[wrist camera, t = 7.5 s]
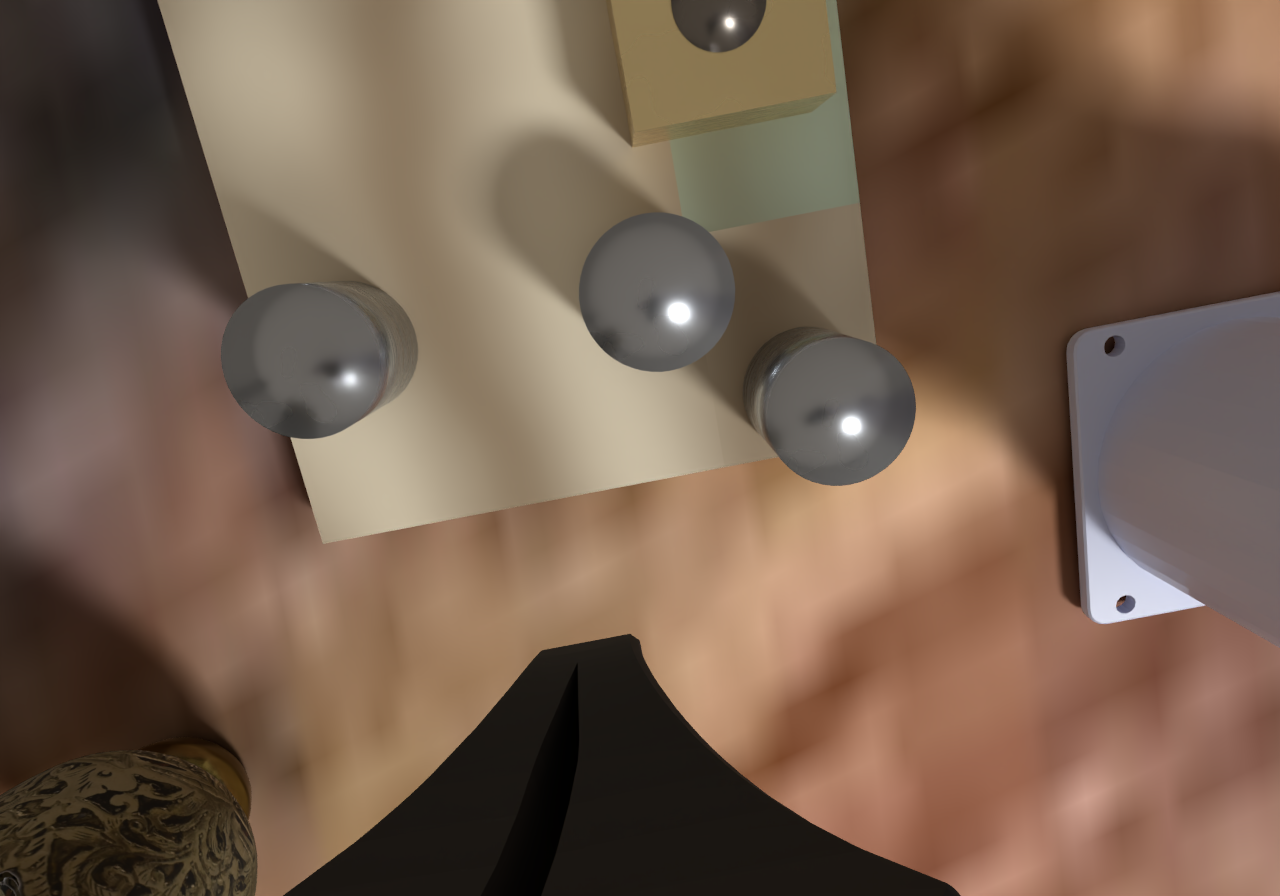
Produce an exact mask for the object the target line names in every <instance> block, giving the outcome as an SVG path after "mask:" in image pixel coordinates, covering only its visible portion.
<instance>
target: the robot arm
mask: <svg viewBox="0 0 1280 896" xmlns="http://www.w3.org/2000/svg"><path fill="white" fill-rule="evenodd" d="M1112 336H1113V337H1114V340H1115V346H1114V349H1113V350H1112V351H1111V352H1110V353H1108V354H1106V353H1105V350H1104V345H1105V342H1106V341H1107V339H1108V338H1109V337H1112ZM1066 354H1067V372H1068V389H1069V406H1070V423H1071V441H1072V458H1073V475H1074V493H1075V510H1076V527H1077V544H1078V562H1079V579H1080V596H1081V607H1082V611H1083V613H1084V614H1085V615H1086V616H1087V617H1088V618H1090V619H1091V620H1092V621H1094V622H1096V623H1099V624H1109V623H1114V622H1120V621H1125V620H1130V619H1136V618H1141V617H1147V616H1152V615H1157V614H1163V613H1168V612H1173V611H1179V610H1184V609H1189V608H1195V607H1200V606H1205V605H1206V606H1208V607H1210V608H1211V609H1213V610H1215V611H1217V612H1218V613H1220V614H1222V615H1224V616H1225V617H1227V618H1229V619H1231V620H1232V621H1234V622H1236V623H1238V624H1239V625H1241V626H1243V627H1244V628H1246V629H1248V630H1250V631H1251V632H1253V633H1255V634H1257V635H1258V636H1260V637H1262V638H1264V639H1265V640H1267V641H1269V642H1271V643H1272V644H1274V645H1276V646H1278V647H1279V648H1280V291H1279V292H1273V293H1268V294H1263V295H1258V296H1253V297H1247V298H1242V299H1237V300H1232V301H1227V302H1221V303H1216V304H1211V305H1206V306H1201V307H1195V308H1190V309H1185V310H1180V311H1175V312H1169V313H1164V314H1159V315H1154V316H1148V317H1143V318H1138V319H1133V320H1128V321H1122V322H1117V323H1112V324H1107V325H1102V326H1096V327H1091V328H1086V329H1083V330H1080V331H1078V332H1077V333H1076V334H1074V335H1073V336H1072V337H1071V339H1070V341H1069V342H1068V344H1067V351H1066ZM1125 595H1126V599H1125V602H1124V603H1123V604H1122V605H1120V606H1118V607H1116V603H1117V601H1118V600H1119V598H1120V597H1122V596H1125ZM283 896H960V894H959V893H958V892H957V891H956V890H955V889H954V888H953V887H952V886H950V885H949V884H947V883H945V882H942V881H940V880H937V879H935V878H932V877H930V876H927V875H925V874H922V873H920V872H917V871H915V870H912V869H910V868H907V867H905V866H903V865H900V864H898V863H895V862H893V861H890V860H888V859H885V858H883V857H880V856H878V855H875V854H873V853H870V852H868V851H865V850H863V849H861V848H859V847H856V846H854V845H852V844H850V843H848V842H846V841H844V840H843V839H841V838H839V837H837V836H835V835H833V834H831V833H829V832H827V831H825V830H823V829H821V828H819V827H817V826H816V825H814V824H812V823H810V822H809V821H807V820H806V819H804V818H802V817H801V816H799V815H798V814H796V813H795V812H793V811H792V810H790V809H788V808H787V807H785V806H784V805H782V804H781V803H779V802H777V801H776V800H774V799H773V798H771V797H770V796H768V795H767V794H766V793H764V792H763V791H762V790H761V789H759V788H758V787H757V786H755V785H754V784H753V783H752V782H750V781H749V780H748V779H747V778H745V777H744V776H743V775H741V774H740V773H739V772H738V771H737V770H736V769H734V768H733V767H732V766H731V765H730V764H729V763H728V762H726V761H725V760H724V759H723V758H722V757H721V756H720V755H719V754H718V753H717V752H716V751H715V750H714V749H712V748H711V747H710V746H709V745H708V743H707V742H706V741H705V740H704V739H703V738H702V737H701V736H700V735H699V734H698V733H697V732H696V731H695V730H694V729H693V727H692V726H691V725H690V724H689V723H688V722H687V721H686V720H685V718H684V717H683V716H682V715H681V714H680V712H679V711H678V710H677V709H676V707H675V706H674V705H673V703H672V702H671V701H670V699H669V698H668V697H667V695H666V694H665V692H664V691H663V690H662V688H661V687H660V686H659V684H658V683H657V681H656V679H655V678H654V676H653V675H652V673H651V671H650V669H649V667H648V666H647V664H646V662H645V660H644V658H643V655H642V650H641V645H640V641H639V640H638V639H637V638H635V637H634V636H632V635H631V634H627V635H622V636H616V637H611V638H606V639H600V640H595V641H590V642H584V643H579V644H574V645H568V646H563V647H558V648H552V649H547V650H542V651H541V652H540V653H539V654H538V655H537V656H536V657H535V658H534V659H533V660H532V662H531V663H530V664H529V665H528V666H527V668H526V669H525V670H524V671H523V673H522V674H521V675H520V676H519V677H518V679H517V680H516V681H515V682H514V684H513V685H512V686H511V687H510V688H509V690H508V691H507V692H506V693H505V694H504V696H503V697H502V698H501V699H500V700H499V702H498V703H497V704H496V705H495V706H494V707H493V709H492V710H491V711H490V712H489V713H488V714H487V716H486V717H485V718H484V719H483V720H482V722H481V723H480V724H479V725H478V726H477V727H476V728H475V730H474V731H473V732H472V733H471V734H470V735H469V736H468V737H467V738H466V739H465V740H464V741H463V742H462V743H461V744H460V745H459V746H458V747H457V748H456V749H455V751H454V752H453V753H452V754H451V755H450V756H449V757H448V758H447V759H446V760H445V761H444V762H443V763H442V764H441V765H440V766H439V767H438V768H437V769H436V771H435V772H434V773H433V774H432V775H431V776H430V777H429V778H428V779H427V780H426V781H425V782H424V783H422V784H421V785H420V786H419V787H418V788H417V789H416V790H415V791H414V792H413V793H412V794H411V795H410V796H409V797H408V798H406V799H405V800H404V801H403V802H402V803H401V804H400V805H399V806H398V807H396V808H395V809H394V810H393V811H392V812H391V813H389V814H388V815H387V816H386V817H385V818H384V819H382V820H381V821H380V822H379V823H378V824H377V825H375V826H374V827H373V828H372V829H371V830H370V831H368V832H367V833H366V834H365V835H363V836H362V837H361V838H360V839H359V840H357V841H356V842H355V843H354V844H352V845H351V846H350V847H348V848H347V849H346V850H344V851H343V852H341V853H340V854H339V855H337V856H336V857H335V858H333V859H332V860H331V861H329V862H328V863H327V864H325V865H324V866H323V867H321V868H320V869H318V870H317V871H316V872H314V873H313V874H312V875H310V876H309V877H308V878H306V879H305V880H304V881H302V882H301V883H300V884H298V885H297V886H295V887H294V888H293V889H291V890H290V891H289V892H287V893H286V894H285V895H283Z"/></svg>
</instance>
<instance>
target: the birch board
mask: <svg viewBox="0 0 1280 896" xmlns="http://www.w3.org/2000/svg"><path fill="white" fill-rule="evenodd" d="M157 1H158V4H159V7H160V10H161V14H162V17H163V20H164V24H165V27H166V30H167V33H168V37H169V40H170V43H171V47H172V50H173V53H174V56H175V60H176V63H177V66H178V69H179V73H180V76H181V79H182V83H183V86H184V89H185V92H186V96H187V99H188V102H189V106H190V109H191V112H192V115H193V119H194V122H195V125H196V129H197V132H198V135H199V138H200V142H201V145H202V148H203V152H204V155H205V158H206V161H207V165H208V168H209V171H210V175H211V178H212V181H213V184H214V188H215V191H216V194H217V198H218V201H219V204H220V207H221V211H222V214H223V217H224V221H225V224H226V227H227V230H228V234H229V237H230V240H231V244H232V247H233V250H234V253H235V257H236V260H237V263H238V267H239V270H240V273H241V276H242V280H243V283H244V286H245V290H246V293H247V296H248V298H249V297H251V296H252V295H254V294H256V293H257V292H259V291H261V290H264V289H266V288H269V287H273V286H276V285H283V284H294V283H312V282H331V281H356V282H362V283H366V284H369V285H372V286H374V287H376V288H378V289H380V290H382V291H384V292H385V293H387V294H388V295H390V296H391V297H392V298H393V299H394V300H395V301H396V302H398V303H399V304H400V306H401V307H402V308H403V309H404V311H405V312H406V314H407V315H408V317H409V318H410V320H411V323H412V325H413V327H414V330H415V333H416V337H417V342H418V361H417V365H416V369H415V372H414V375H413V377H412V379H411V381H410V383H409V384H408V386H407V387H406V388H405V390H404V391H403V392H402V393H401V394H400V395H399V396H398V397H397V398H395V399H394V400H393V401H391V402H390V403H388V404H386V405H385V406H383V407H381V408H380V409H378V410H376V411H375V412H373V413H371V414H370V415H368V416H366V417H365V418H363V419H361V420H360V421H358V422H356V423H355V424H353V425H351V426H350V427H348V428H346V429H345V430H343V431H341V432H339V433H336V434H334V435H331V436H327V437H323V438H316V439H299V438H292V437H291V441H292V444H293V447H294V450H295V454H296V457H297V460H298V464H299V467H300V470H301V473H302V477H303V480H304V483H305V487H306V490H307V493H308V496H309V500H310V503H311V506H312V510H313V513H314V516H315V519H316V523H317V526H318V529H319V533H320V536H321V539H322V542H323V544H324V543H330V542H335V541H340V540H345V539H351V538H356V537H361V536H366V535H372V534H377V533H382V532H387V531H393V530H398V529H403V528H408V527H414V526H419V525H424V524H429V523H435V522H440V521H445V520H450V519H456V518H461V517H466V516H471V515H477V514H482V513H487V512H492V511H497V510H503V509H508V508H513V507H518V506H524V505H529V504H534V503H539V502H545V501H550V500H555V499H560V498H566V497H571V496H576V495H581V494H587V493H592V492H597V491H602V490H608V489H613V488H618V487H623V486H629V485H634V484H639V483H644V482H650V481H655V480H660V479H665V478H671V477H676V476H681V475H686V474H691V473H697V472H702V471H707V470H712V469H718V468H723V467H728V466H733V465H739V464H744V463H749V462H754V461H760V460H765V459H770V458H775V457H779V456H778V455H777V454H776V453H775V452H774V451H773V449H772V448H771V447H770V446H769V445H768V443H767V442H766V441H765V440H764V439H763V438H762V436H761V435H760V434H759V433H758V432H757V431H756V429H755V428H754V427H753V425H752V424H751V422H750V420H749V418H748V416H747V413H746V411H745V407H744V402H743V383H744V377H745V374H746V371H747V368H748V366H749V364H750V362H751V360H752V359H753V357H754V355H755V354H756V353H757V351H758V350H759V349H760V348H761V347H762V346H763V345H764V344H765V343H766V342H767V341H769V340H770V339H771V338H773V337H774V336H776V335H778V334H780V333H782V332H784V331H787V330H790V329H793V328H798V327H819V328H824V329H827V330H831V331H834V332H838V333H841V334H844V335H848V336H851V337H854V338H858V339H861V340H864V341H868V342H871V343H873V344H875V345H876V337H875V329H874V320H873V312H872V303H871V294H870V286H869V277H868V268H867V260H866V251H865V243H864V234H863V225H862V217H861V208H860V200H859V191H858V182H857V174H856V165H855V156H854V148H853V139H852V131H851V122H850V113H849V105H848V96H847V87H846V79H845V70H844V62H843V53H842V44H841V36H840V27H839V18H838V10H837V1H836V0H826V7H827V15H828V23H829V32H830V40H831V49H832V57H833V65H834V74H835V82H836V91H837V92H836V93H835V94H834V95H833V96H831V97H830V98H829V99H828V100H826V101H825V102H824V103H823V104H821V105H820V106H819V107H817V108H816V109H815V110H814V111H812V112H811V113H806V114H801V115H795V116H790V117H785V118H780V119H775V120H770V121H765V122H760V123H755V124H750V125H745V126H740V127H735V128H729V129H724V130H719V131H714V132H709V133H704V134H699V135H694V136H689V137H684V138H679V139H674V140H668V141H663V142H658V143H653V144H648V145H643V146H638V147H633V148H632V143H631V138H630V132H629V126H628V121H627V115H626V110H625V104H624V99H623V93H622V88H621V82H620V76H619V71H618V65H617V60H616V54H615V49H614V43H613V38H612V32H611V27H610V21H609V15H608V10H607V4H606V0H157ZM652 212H661V213H670V214H675V215H679V216H682V217H685V218H687V219H690V220H692V221H694V222H695V223H697V224H699V225H700V226H702V227H703V228H704V229H706V230H707V231H708V232H709V233H710V234H711V235H712V236H713V237H714V238H715V239H716V240H717V241H718V243H719V244H720V245H721V247H722V248H723V250H724V252H725V253H726V255H727V257H728V259H729V262H730V265H731V268H732V271H733V276H734V282H735V302H734V308H733V312H732V316H731V319H730V321H729V324H728V326H727V328H726V330H725V332H724V333H723V335H722V337H721V338H720V340H719V341H718V342H717V343H716V345H715V346H714V347H713V348H712V349H711V350H710V351H709V352H708V353H707V354H705V355H704V356H703V357H701V358H700V359H699V360H697V361H695V362H693V363H691V364H690V365H687V366H685V367H682V368H679V369H675V370H671V371H664V372H649V371H642V370H638V369H634V368H631V367H629V366H626V365H624V364H622V363H620V362H618V361H616V360H615V359H613V358H612V357H611V356H609V355H608V354H607V353H605V352H604V350H603V349H602V348H601V347H600V346H599V345H598V344H597V343H596V342H595V340H594V339H593V338H592V336H591V334H590V333H589V331H588V329H587V327H586V324H585V322H584V320H583V316H582V313H581V309H580V302H579V283H580V276H581V273H582V269H583V266H584V263H585V261H586V258H587V256H588V254H589V253H590V251H591V249H592V248H593V246H594V245H595V243H596V242H597V241H598V240H599V239H600V238H601V236H602V235H603V234H604V233H605V232H607V231H608V230H609V229H610V228H612V227H613V226H614V225H616V224H618V223H620V222H621V221H623V220H625V219H628V218H630V217H632V216H636V215H640V214H644V213H652Z"/></svg>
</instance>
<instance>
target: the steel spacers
mask: <svg viewBox="0 0 1280 896" xmlns="http://www.w3.org/2000/svg"><path fill="white" fill-rule="evenodd" d="M579 302H580V309H581V313H582V316H583V320H584V322H585V324H586V327H587V329H588V331H589V333H590V334H591V336H592V338H593V339H594V340H595V342H596V343H597V344H598V345H599V346H600V347H601V348H602V349H603V350H604V352H605V353H607V354H608V355H609V356H611V357H612V358H613V359H615V360H616V361H618V362H620V363H622V364H624V365H626V366H629V367H631V368H634V369H638V370H642V371H649V372H664V371H671V370H675V369H679V368H682V367H685V366H687V365H690V364H691V363H693V362H695V361H697V360H699V359H700V358H701V357H703V356H704V355H705V354H707V353H708V352H709V351H710V350H711V349H712V348H713V347H714V346H715V345H716V343H717V342H718V341H719V340H720V338H721V337H722V335H723V333H724V332H725V330H726V328H727V326H728V324H729V321H730V319H731V316H732V312H733V308H734V302H735V282H734V276H733V271H732V268H731V265H730V262H729V259H728V257H727V255H726V253H725V252H724V250H723V248H722V247H721V245H720V244H719V243H718V241H717V240H716V239H715V238H714V237H713V236H712V235H711V234H710V233H709V232H708V231H707V230H706V229H704V228H703V227H702V226H700V225H699V224H697V223H695V222H694V221H692V220H690V219H687V218H685V217H682V216H679V215H675V214H670V213H661V212H652V213H644V214H640V215H636V216H632V217H630V218H628V219H625V220H623V221H621V222H620V223H618V224H616V225H614V226H613V227H612V228H610V229H609V230H608V231H607V232H605V233H604V234H603V235H602V236H601V238H600V239H599V240H598V241H597V242H596V243H595V245H594V246H593V248H592V249H591V251H590V253H589V254H588V256H587V258H586V261H585V263H584V266H583V269H582V273H581V276H580V283H579ZM221 361H222V369H223V373H224V377H225V380H226V382H227V385H228V387H229V389H230V391H231V393H232V395H233V397H234V398H235V400H236V401H237V402H238V404H239V405H240V406H241V408H242V409H243V410H244V411H245V412H246V413H247V414H248V415H249V416H250V417H251V418H253V419H254V420H255V421H256V422H258V423H259V424H261V425H262V426H264V427H266V428H267V429H269V430H271V431H273V432H276V433H278V434H281V435H284V436H288V437H292V438H299V439H316V438H323V437H327V436H331V435H334V434H336V433H339V432H341V431H343V430H345V429H346V428H348V427H350V426H351V425H353V424H355V423H356V422H358V421H360V420H361V419H363V418H365V417H366V416H368V415H370V414H371V413H373V412H375V411H376V410H378V409H380V408H381V407H383V406H385V405H386V404H388V403H390V402H391V401H393V400H394V399H395V398H397V397H398V396H399V395H400V394H401V393H402V392H403V391H404V390H405V388H406V387H407V386H408V384H409V383H410V381H411V379H412V377H413V375H414V372H415V369H416V365H417V361H418V342H417V337H416V333H415V330H414V327H413V325H412V323H411V320H410V318H409V317H408V315H407V314H406V312H405V311H404V309H403V308H402V307H401V306H400V304H399V303H398V302H396V301H395V300H394V299H393V298H392V297H391V296H390V295H388V294H387V293H385V292H384V291H382V290H380V289H378V288H376V287H374V286H372V285H369V284H366V283H362V282H356V281H331V282H312V283H294V284H283V285H276V286H273V287H269V288H266V289H264V290H261V291H259V292H257V293H256V294H254V295H252V296H251V297H249V298H248V299H247V300H246V301H244V302H243V303H242V304H241V305H240V306H239V307H238V308H237V310H236V311H235V312H234V314H233V315H232V317H231V318H230V320H229V322H228V324H227V326H226V329H225V332H224V335H223V340H222V346H221ZM743 402H744V407H745V411H746V413H747V416H748V418H749V420H750V422H751V424H752V425H753V427H754V428H755V429H756V431H757V432H758V433H759V434H760V435H761V436H762V438H763V439H764V440H765V441H766V442H767V443H768V445H769V446H770V447H771V448H772V449H773V451H774V452H775V453H776V454H777V455H778V456H779V458H780V459H781V460H782V461H783V462H784V463H785V464H786V465H787V466H788V467H789V468H790V469H791V470H792V471H794V472H795V473H796V474H798V475H800V476H801V477H803V478H805V479H807V480H810V481H812V482H815V483H819V484H823V485H831V486H842V485H850V484H854V483H858V482H861V481H864V480H866V479H869V478H871V477H873V476H874V475H876V474H878V473H879V472H881V471H882V470H884V469H885V468H886V467H888V466H889V465H890V464H891V463H892V462H893V461H894V460H895V459H896V458H897V456H898V455H899V454H900V453H901V451H902V450H903V448H904V447H905V445H906V443H907V441H908V439H909V437H910V434H911V432H912V429H913V425H914V420H915V412H916V402H915V394H914V389H913V386H912V383H911V380H910V378H909V376H908V374H907V372H906V371H905V369H904V368H903V366H902V365H901V364H900V362H899V361H898V360H897V359H896V358H895V357H894V356H893V355H891V354H890V353H889V352H888V351H886V350H885V349H883V348H882V347H880V346H878V345H875V344H873V343H871V342H868V341H864V340H861V339H858V338H854V337H851V336H848V335H844V334H841V333H838V332H834V331H831V330H827V329H824V328H819V327H798V328H793V329H790V330H787V331H784V332H782V333H780V334H778V335H776V336H774V337H773V338H771V339H770V340H769V341H767V342H766V343H765V344H764V345H763V346H762V347H761V348H760V349H759V350H758V351H757V353H756V354H755V355H754V357H753V359H752V360H751V362H750V364H749V366H748V368H747V371H746V374H745V377H744V383H743Z"/></svg>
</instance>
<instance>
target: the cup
mask: <svg viewBox="0 0 1280 896" xmlns="http://www.w3.org/2000/svg"><path fill="white" fill-rule="evenodd" d="M251 800H252V796H251V785H250V781H249V778H248V776H247V773H246V771H245V769H244V768H243V766H242V765H241V763H240V762H239V761H238V760H237V759H236V758H235V756H233V755H232V754H231V753H230V752H229V751H227V750H226V749H225V748H223V747H221V746H219V745H217V744H215V743H213V742H211V741H208V740H204V739H201V738H195V737H174V738H168V739H164V740H161V741H158V742H155V743H152V744H150V745H147V746H145V747H143V748H141V749H139V750H119V751H110V752H102V753H96V754H92V755H88V756H83V757H80V758H77V759H74V760H71V761H68V762H65V763H62V764H59V765H57V766H54V767H52V768H50V769H48V770H46V771H44V772H42V773H40V774H38V775H36V776H34V777H32V778H30V779H28V780H26V781H24V782H22V783H20V784H19V785H17V786H15V787H14V788H12V789H10V790H8V791H7V792H5V793H3V794H2V795H0V896H255V892H256V883H257V851H256V845H255V840H254V836H253V832H252V829H251V826H250V823H249V821H248V820H249V816H250V810H251Z"/></svg>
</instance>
